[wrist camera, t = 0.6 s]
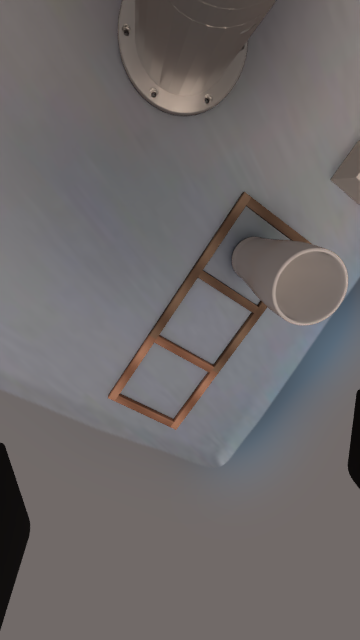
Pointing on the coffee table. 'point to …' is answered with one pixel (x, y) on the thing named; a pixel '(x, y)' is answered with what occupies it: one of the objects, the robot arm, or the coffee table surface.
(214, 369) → the copper window frame
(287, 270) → the drinking glass
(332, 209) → the coffee table surface
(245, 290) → the coffee table surface
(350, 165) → the die
